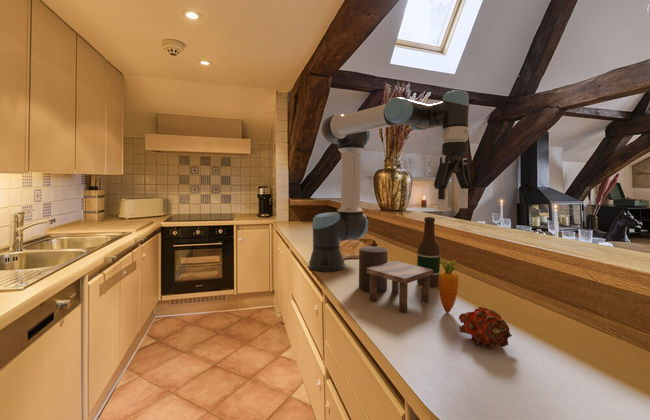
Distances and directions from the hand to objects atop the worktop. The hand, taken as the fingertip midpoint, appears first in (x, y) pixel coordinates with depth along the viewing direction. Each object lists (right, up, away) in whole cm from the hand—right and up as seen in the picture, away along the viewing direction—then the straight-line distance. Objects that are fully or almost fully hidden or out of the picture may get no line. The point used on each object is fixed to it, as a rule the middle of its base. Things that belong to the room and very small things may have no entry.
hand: (453, 209), depth 98 cm
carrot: (-8, -29, -14) cm, 33 cm away
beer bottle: (-5, -27, +10) cm, 29 cm away
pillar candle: (-25, -27, +7) cm, 38 cm away
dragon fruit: (-6, -30, -30) cm, 43 cm away
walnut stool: (-19, -28, -5) cm, 34 cm away
